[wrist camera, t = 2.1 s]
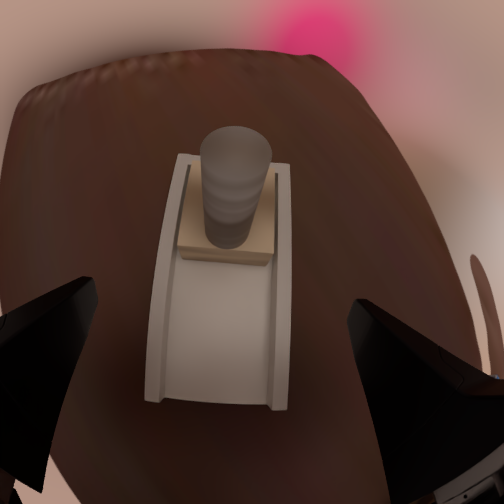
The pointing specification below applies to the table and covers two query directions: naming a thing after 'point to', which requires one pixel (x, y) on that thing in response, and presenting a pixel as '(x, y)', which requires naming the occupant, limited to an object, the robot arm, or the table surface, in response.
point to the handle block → (230, 200)
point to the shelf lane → (220, 314)
